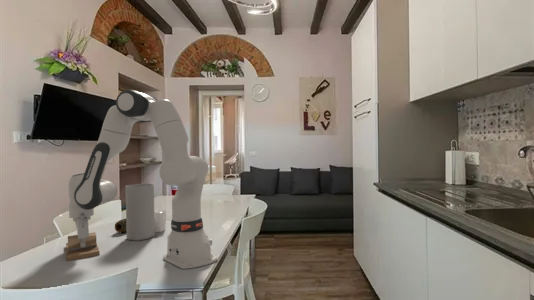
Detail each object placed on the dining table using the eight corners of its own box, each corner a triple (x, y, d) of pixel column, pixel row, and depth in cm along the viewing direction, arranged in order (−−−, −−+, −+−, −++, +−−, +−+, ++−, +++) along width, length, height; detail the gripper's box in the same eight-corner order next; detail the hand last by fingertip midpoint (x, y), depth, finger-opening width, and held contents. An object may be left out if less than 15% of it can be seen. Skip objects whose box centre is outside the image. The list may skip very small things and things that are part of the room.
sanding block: (96, 246, 127) (96, 234, 127) (68, 251, 122) (67, 239, 122) (95, 243, 131) (95, 232, 131) (67, 248, 126) (67, 236, 126)
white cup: (169, 228, 161) (168, 209, 161) (162, 232, 153) (162, 212, 153) (154, 228, 161) (154, 209, 161) (147, 232, 154) (147, 212, 153)
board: (99, 254, 122) (99, 251, 122) (66, 260, 116) (66, 256, 116) (94, 241, 139) (94, 238, 139) (66, 246, 133) (66, 243, 133)
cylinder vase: (144, 241, 138) (143, 187, 138) (120, 240, 141) (119, 186, 141) (159, 233, 151) (158, 183, 150) (137, 233, 153) (136, 183, 153)
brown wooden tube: (125, 234, 151) (125, 221, 151) (113, 233, 153) (113, 220, 153) (144, 226, 166) (143, 214, 166) (132, 226, 167) (132, 214, 167)
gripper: (92, 215, 120) (93, 250, 120) (88, 207, 137) (89, 237, 137) (73, 217, 116) (74, 253, 116) (72, 209, 133) (73, 240, 133)
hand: (82, 244), depth 127 cm, fingers closed on sanding block, 5 cm apart
